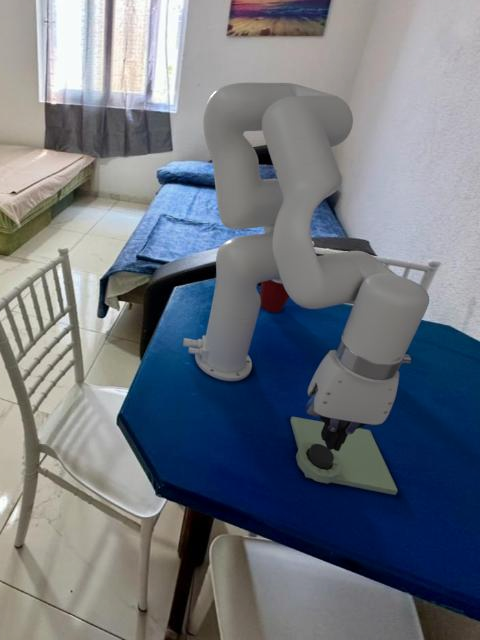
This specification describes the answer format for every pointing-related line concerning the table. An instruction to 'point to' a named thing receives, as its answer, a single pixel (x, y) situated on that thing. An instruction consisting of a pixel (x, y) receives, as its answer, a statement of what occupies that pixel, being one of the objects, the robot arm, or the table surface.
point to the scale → (344, 458)
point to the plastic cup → (273, 295)
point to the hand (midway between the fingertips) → (330, 442)
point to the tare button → (320, 456)
